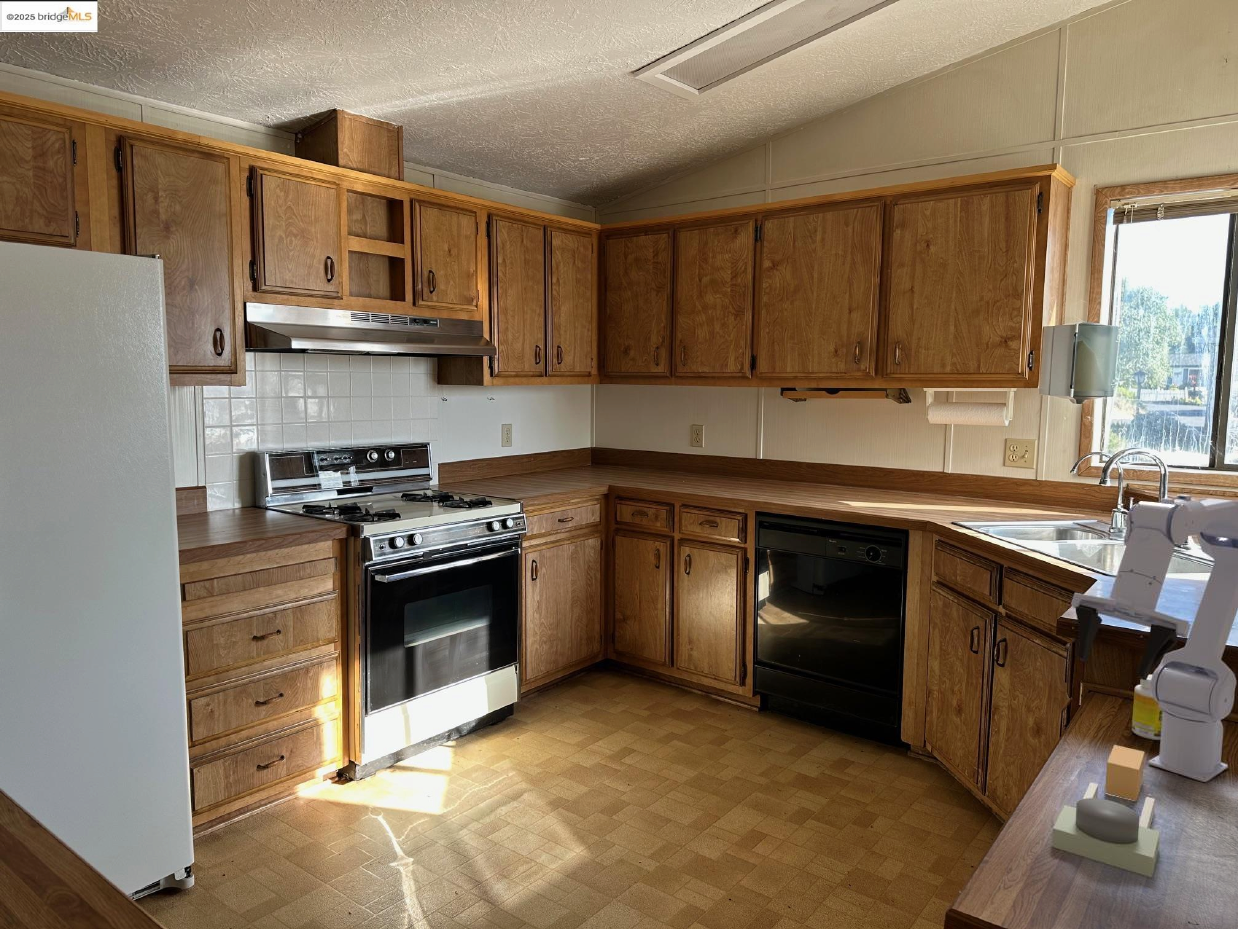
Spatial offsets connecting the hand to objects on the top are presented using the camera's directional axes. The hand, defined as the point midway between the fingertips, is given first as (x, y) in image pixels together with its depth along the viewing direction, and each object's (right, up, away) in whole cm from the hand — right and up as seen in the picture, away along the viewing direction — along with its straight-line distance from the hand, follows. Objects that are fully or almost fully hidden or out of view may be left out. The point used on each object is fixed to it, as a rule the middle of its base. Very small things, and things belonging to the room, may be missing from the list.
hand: (1111, 668), depth 117 cm
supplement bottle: (+24, -19, +28) cm, 41 cm away
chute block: (+6, -20, +8) cm, 22 cm away
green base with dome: (-3, -21, -5) cm, 21 cm away
